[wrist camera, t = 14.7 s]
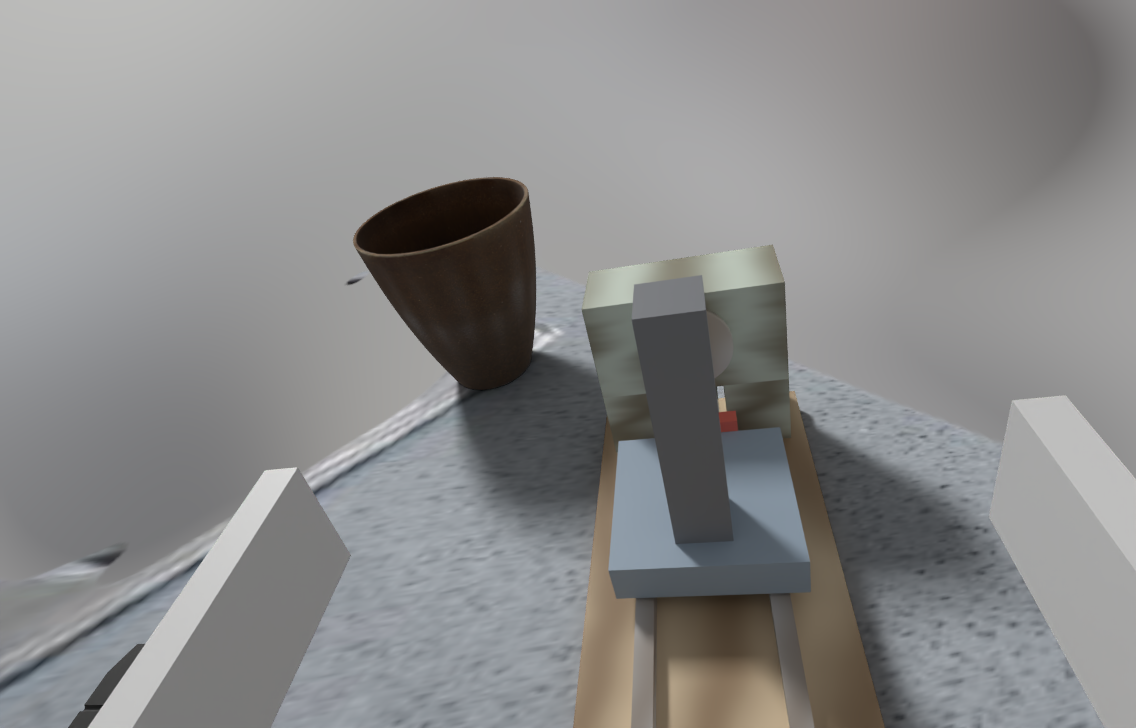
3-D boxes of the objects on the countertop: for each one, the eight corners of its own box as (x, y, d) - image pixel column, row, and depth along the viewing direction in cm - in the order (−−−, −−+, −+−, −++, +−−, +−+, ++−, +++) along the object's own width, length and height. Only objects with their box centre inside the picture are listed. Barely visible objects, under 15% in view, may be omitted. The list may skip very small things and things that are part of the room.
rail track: (535, 1191, 21) (377, 1117, 14) (610, 424, 52) (574, 274, 44) (1022, 1276, 18) (1157, 1241, 11) (795, 406, 49) (789, 242, 41)
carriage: (616, 598, 35) (544, 350, 26) (624, 468, 43) (571, 243, 34) (810, 592, 33) (804, 318, 24) (781, 455, 41) (768, 212, 32)
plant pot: (594, 375, 58) (553, 205, 49) (435, 441, 55) (361, 274, 46) (541, 310, 70) (499, 164, 61) (408, 361, 67) (345, 217, 58)
